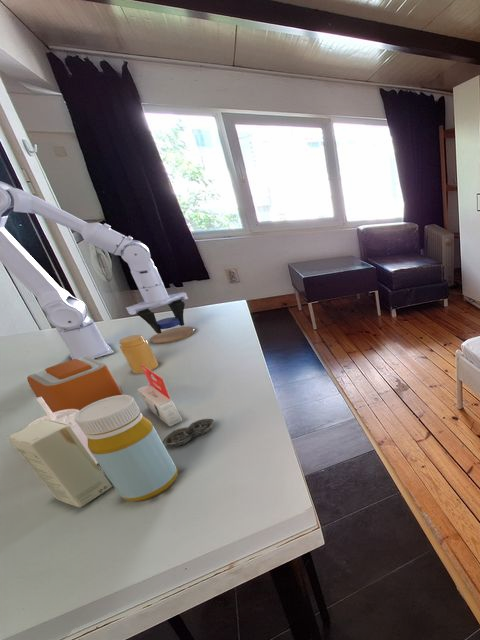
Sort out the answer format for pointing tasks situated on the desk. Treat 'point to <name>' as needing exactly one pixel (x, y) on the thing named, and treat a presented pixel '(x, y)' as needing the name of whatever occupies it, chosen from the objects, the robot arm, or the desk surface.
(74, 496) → the cosmetic box
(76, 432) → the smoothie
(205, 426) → the corroded twin loop
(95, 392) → the alarm clock
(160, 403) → the ink cartridge box
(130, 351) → the jar
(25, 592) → the desk surface
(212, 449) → the desk surface
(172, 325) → the lid
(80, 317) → the robot arm
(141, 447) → the bottle
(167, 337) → the coaster
